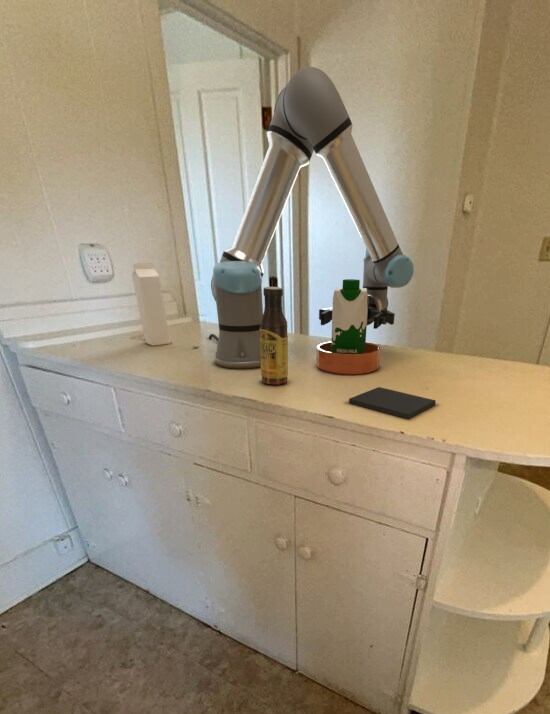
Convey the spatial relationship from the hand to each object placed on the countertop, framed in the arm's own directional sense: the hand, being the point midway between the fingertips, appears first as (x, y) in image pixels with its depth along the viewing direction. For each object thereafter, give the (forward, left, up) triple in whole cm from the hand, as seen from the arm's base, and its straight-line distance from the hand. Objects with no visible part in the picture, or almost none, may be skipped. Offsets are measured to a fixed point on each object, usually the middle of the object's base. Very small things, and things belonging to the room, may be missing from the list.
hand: (348, 321), depth 105 cm
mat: (+24, -16, -12) cm, 31 cm away
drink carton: (-1, +2, -11) cm, 11 cm away
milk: (-64, -15, -12) cm, 67 cm away
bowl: (-1, +2, -12) cm, 12 cm away
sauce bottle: (-5, -21, -12) cm, 25 cm away
